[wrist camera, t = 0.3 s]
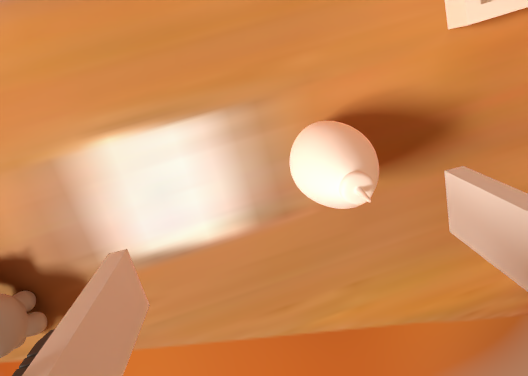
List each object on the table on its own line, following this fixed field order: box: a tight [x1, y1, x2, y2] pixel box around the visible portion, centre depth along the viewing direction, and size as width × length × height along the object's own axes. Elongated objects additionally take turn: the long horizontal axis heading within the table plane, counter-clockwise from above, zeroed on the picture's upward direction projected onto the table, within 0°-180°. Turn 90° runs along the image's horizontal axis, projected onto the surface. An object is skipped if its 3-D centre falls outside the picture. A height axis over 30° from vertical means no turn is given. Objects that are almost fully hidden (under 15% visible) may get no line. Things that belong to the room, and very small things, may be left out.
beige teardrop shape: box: [290, 121, 379, 209], centre depth 34 cm, size 8×8×18 cm
